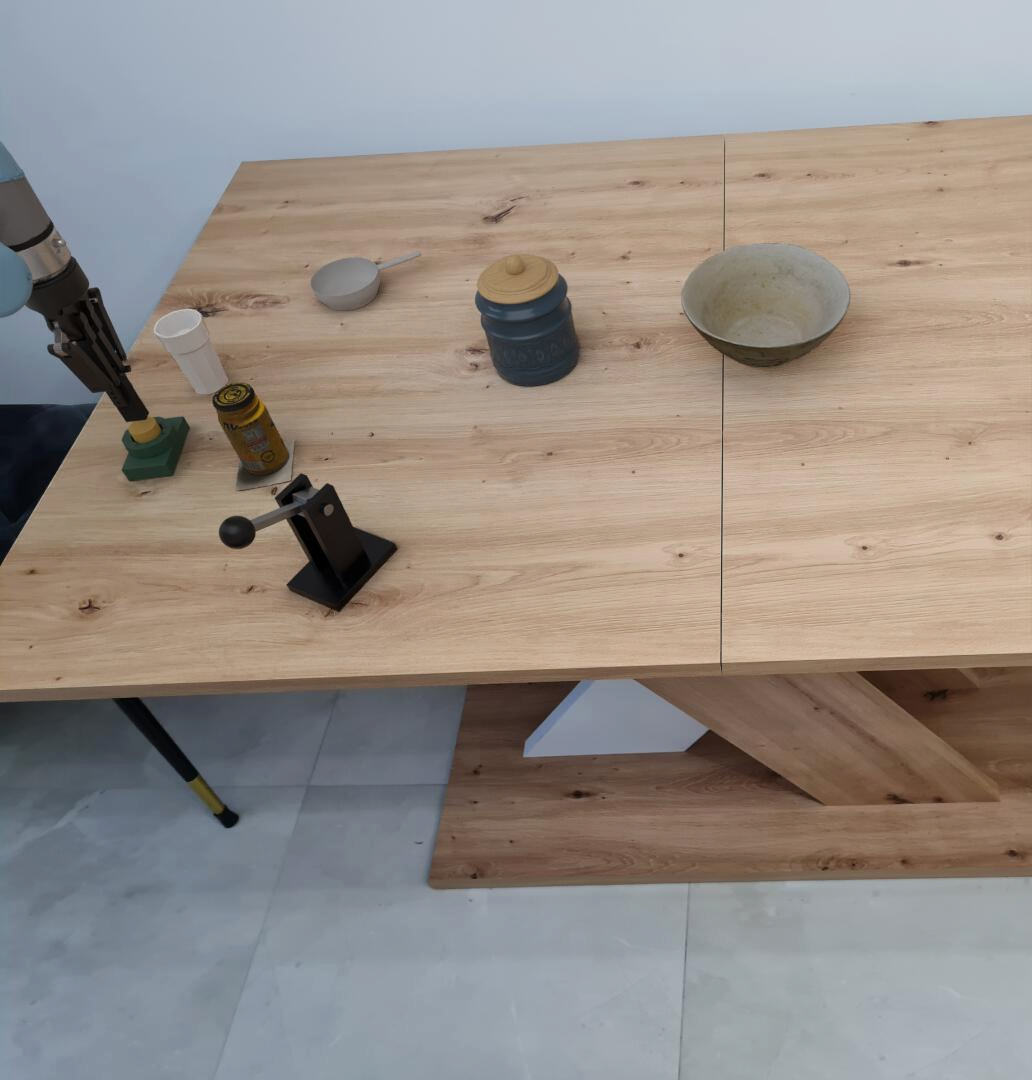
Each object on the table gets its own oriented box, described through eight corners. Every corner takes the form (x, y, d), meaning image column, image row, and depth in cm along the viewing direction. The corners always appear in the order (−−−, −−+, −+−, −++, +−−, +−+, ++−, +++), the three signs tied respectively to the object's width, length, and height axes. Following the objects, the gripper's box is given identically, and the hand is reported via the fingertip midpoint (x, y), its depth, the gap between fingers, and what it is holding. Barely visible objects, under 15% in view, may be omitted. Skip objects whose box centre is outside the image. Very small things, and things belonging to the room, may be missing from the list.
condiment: (294, 440, 146) (260, 372, 138) (291, 481, 141) (255, 414, 132) (241, 450, 146) (204, 383, 137) (236, 492, 140) (196, 425, 131)
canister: (570, 324, 160) (548, 221, 147) (590, 374, 152) (569, 270, 138) (487, 345, 158) (457, 243, 145) (502, 397, 149) (472, 293, 136)
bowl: (881, 359, 149) (885, 301, 142) (737, 421, 143) (732, 363, 135) (794, 280, 164) (793, 223, 156) (659, 333, 157) (651, 276, 150)
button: (157, 442, 143) (151, 432, 141) (131, 445, 143) (125, 435, 141) (164, 424, 145) (158, 414, 144) (138, 427, 145) (132, 418, 144)
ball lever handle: (236, 558, 111) (234, 528, 109) (212, 548, 112) (209, 518, 111) (331, 517, 122) (329, 488, 120) (308, 507, 123) (306, 480, 121)
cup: (179, 388, 156) (144, 328, 148) (215, 364, 159) (182, 304, 151) (206, 403, 153) (172, 342, 145) (242, 378, 157) (211, 317, 149)
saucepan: (312, 287, 172) (304, 267, 169) (419, 256, 176) (413, 236, 173) (323, 322, 165) (315, 301, 162) (435, 288, 169) (428, 268, 166)
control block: (174, 475, 143) (161, 454, 140) (127, 481, 143) (112, 460, 140) (192, 427, 150) (179, 406, 147) (146, 432, 150) (132, 411, 147)
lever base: (339, 612, 125) (296, 534, 115) (289, 590, 128) (243, 513, 117) (397, 549, 131) (362, 470, 121) (349, 529, 134) (310, 451, 124)
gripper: (55, 295, 120) (153, 446, 137) (89, 234, 128) (177, 383, 146) (-11, 303, 120) (95, 453, 137) (28, 241, 128) (123, 389, 146)
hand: (137, 417), depth 141 cm, fingers closed
